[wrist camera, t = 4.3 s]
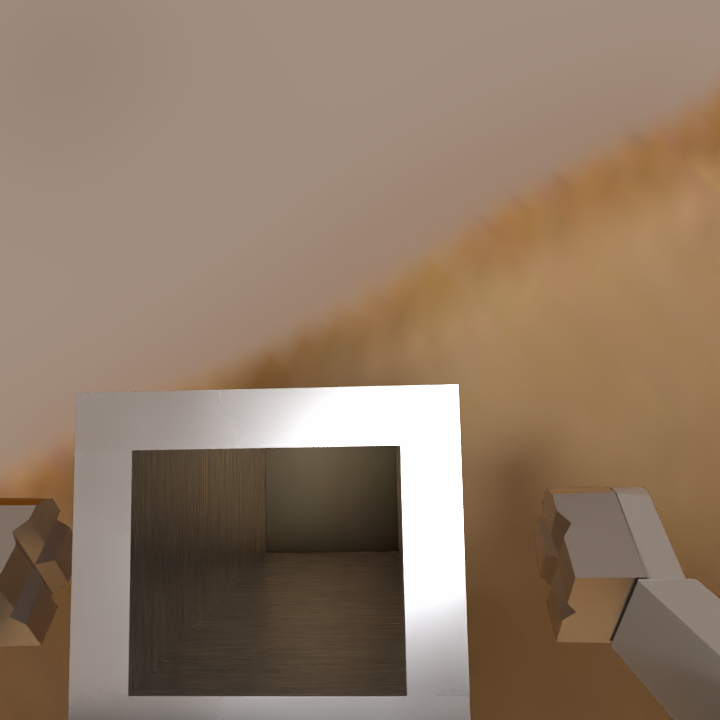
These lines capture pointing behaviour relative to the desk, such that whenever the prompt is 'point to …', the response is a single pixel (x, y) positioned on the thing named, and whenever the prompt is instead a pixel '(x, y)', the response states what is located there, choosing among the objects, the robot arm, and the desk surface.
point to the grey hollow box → (261, 562)
